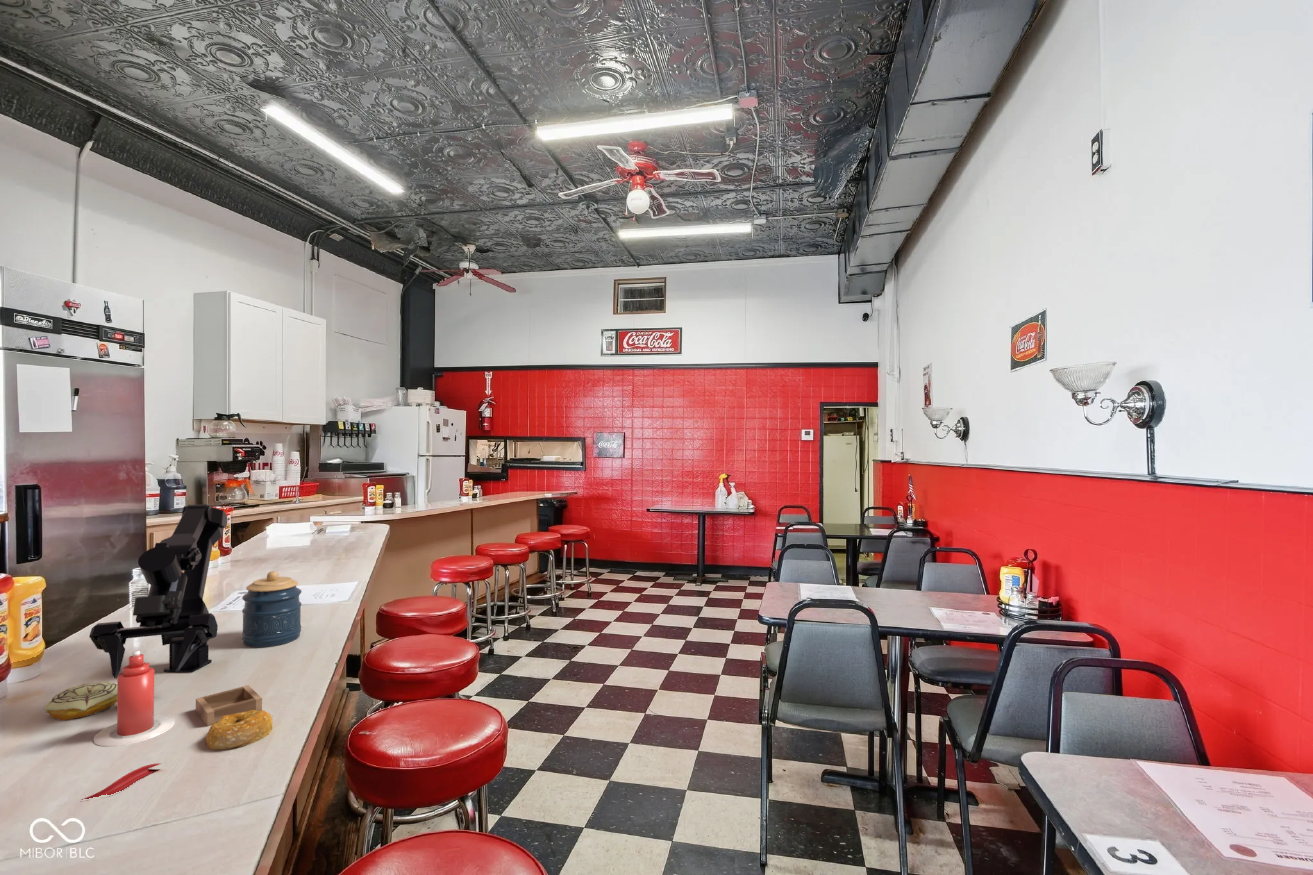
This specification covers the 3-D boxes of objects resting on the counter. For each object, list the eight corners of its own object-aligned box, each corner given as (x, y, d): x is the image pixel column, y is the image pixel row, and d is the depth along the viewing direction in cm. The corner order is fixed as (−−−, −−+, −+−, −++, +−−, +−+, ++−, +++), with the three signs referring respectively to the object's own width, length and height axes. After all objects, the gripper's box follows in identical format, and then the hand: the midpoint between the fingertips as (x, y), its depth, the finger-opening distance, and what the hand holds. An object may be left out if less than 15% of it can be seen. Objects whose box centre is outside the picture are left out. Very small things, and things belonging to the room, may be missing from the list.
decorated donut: (29, 723, 112) (29, 702, 112) (79, 697, 123) (79, 679, 123) (89, 721, 113) (89, 701, 113) (134, 696, 124) (134, 678, 124)
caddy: (195, 714, 116) (195, 698, 116) (248, 699, 123) (248, 685, 123) (207, 729, 111) (207, 712, 110) (261, 713, 117) (262, 697, 117)
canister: (306, 629, 166) (306, 564, 166) (294, 645, 154) (295, 575, 153) (250, 633, 162) (251, 567, 162) (234, 650, 150) (234, 578, 149)
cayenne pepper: (79, 810, 88) (80, 796, 88) (71, 798, 90) (72, 785, 90) (181, 773, 97) (181, 761, 97) (171, 763, 100) (171, 752, 100)
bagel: (278, 720, 115) (278, 695, 115) (267, 749, 105) (266, 721, 104) (215, 730, 111) (214, 704, 111) (196, 761, 101) (196, 733, 101)
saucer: (75, 748, 103) (75, 744, 103) (131, 718, 114) (131, 714, 114) (139, 750, 103) (139, 745, 103) (190, 719, 114) (190, 715, 114)
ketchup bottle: (110, 732, 107) (111, 653, 107) (144, 719, 112) (144, 645, 112) (126, 738, 105) (127, 658, 105) (160, 725, 110) (160, 649, 110)
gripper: (93, 581, 114) (66, 661, 104) (214, 573, 122) (199, 647, 112) (110, 610, 121) (86, 688, 112) (223, 601, 129) (210, 672, 119)
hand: (146, 673), depth 113 cm, fingers open, 9 cm apart
